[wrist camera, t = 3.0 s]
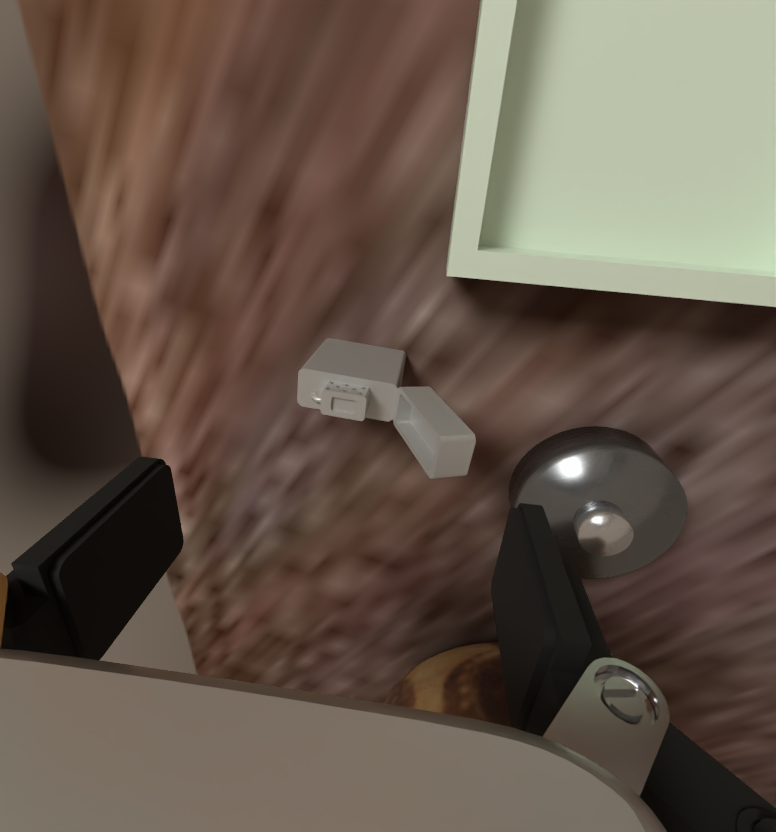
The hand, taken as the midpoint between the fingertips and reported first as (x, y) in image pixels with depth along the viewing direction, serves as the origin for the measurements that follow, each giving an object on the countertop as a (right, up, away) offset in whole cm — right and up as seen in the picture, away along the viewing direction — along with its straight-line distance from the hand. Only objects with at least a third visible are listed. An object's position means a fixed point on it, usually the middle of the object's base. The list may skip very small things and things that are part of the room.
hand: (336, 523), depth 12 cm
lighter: (+2, +6, +10) cm, 11 cm away
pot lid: (+12, -1, +12) cm, 17 cm away
